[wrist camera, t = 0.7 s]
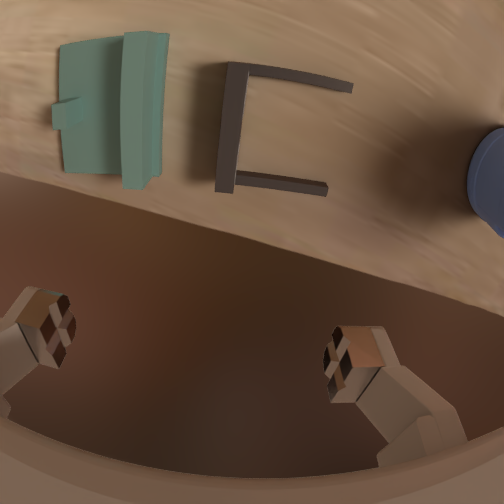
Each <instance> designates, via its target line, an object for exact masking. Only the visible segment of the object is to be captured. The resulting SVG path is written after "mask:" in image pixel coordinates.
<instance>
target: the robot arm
mask: <svg viewBox="0 0 504 504" xmlns="http://www.w3.org/2000/svg"><path fill="white" fill-rule="evenodd" d="M69 307H70V301H69V298H68V296H66V295H64V294H60V293H56V292H52V291H48V290H44V289H39V288H35V287H31V286H29V287H27V288H25V289H24V291H23V292H22V294H21V295H20V296H19V297H18V299H17V300H16V301H15V302H14V304H13V305H12V307H11V308H10V309H9V311H8V312H7V313H6V315H5V316H4V318H0V504H504V427H502V428H500V429H497V430H495V431H493V432H491V433H488V434H486V435H484V436H481V437H479V438H476V439H474V440H471V441H469V442H468V441H467V438H466V436H465V433H464V430H463V428H462V425H461V423H460V420H459V417H458V415H457V412H456V410H455V408H454V407H453V406H452V405H451V404H449V403H448V402H447V401H446V400H445V399H443V398H442V397H441V396H440V395H439V394H437V393H436V392H435V391H434V390H433V389H431V388H430V387H429V386H428V385H427V384H426V383H424V382H423V381H422V380H421V379H420V378H418V377H417V376H416V375H415V374H413V373H412V372H411V371H410V370H409V369H408V368H406V367H405V366H400V364H399V361H398V359H397V356H396V354H395V352H394V349H393V347H392V345H391V342H390V340H389V338H388V335H387V333H386V331H385V329H384V328H383V327H381V326H368V327H365V326H337V327H336V328H335V329H334V331H333V333H332V338H333V341H332V342H330V343H329V344H328V345H327V346H326V349H325V351H324V357H323V368H324V373H325V374H326V375H327V376H328V377H329V378H330V381H329V382H328V384H327V388H328V392H329V398H330V402H331V403H349V402H356V405H357V406H358V407H359V408H360V409H361V410H362V412H363V413H364V414H365V415H366V416H367V418H368V419H369V420H370V421H371V422H372V424H373V425H374V426H375V427H376V428H377V429H378V431H379V432H380V433H381V434H382V435H383V437H384V438H385V439H386V440H387V441H388V443H389V445H387V446H386V447H385V448H384V449H382V450H381V451H380V452H379V453H378V454H377V460H378V464H379V468H374V469H368V470H362V471H356V472H349V473H342V474H334V475H325V476H314V477H301V478H276V479H275V478H274V479H253V478H250V479H249V478H229V477H215V476H203V475H193V474H186V473H179V472H172V471H166V470H160V469H155V468H150V467H144V466H140V465H135V464H131V463H127V462H122V461H118V460H114V459H111V458H107V457H104V456H100V455H97V454H93V453H90V452H87V451H84V450H80V449H78V448H74V447H72V446H69V445H66V444H63V443H61V442H58V441H55V440H52V439H50V438H48V437H45V436H43V435H40V434H38V433H36V432H33V431H31V430H29V429H27V428H24V427H22V426H20V425H18V424H16V423H14V422H12V421H10V420H8V419H7V417H8V414H9V411H10V409H11V408H10V405H9V403H8V402H7V401H6V400H5V399H4V397H3V396H2V395H3V394H4V393H5V392H7V391H8V390H9V389H10V388H11V387H12V386H14V385H15V384H16V383H17V382H18V381H20V380H21V379H22V378H23V377H24V376H25V375H27V374H28V373H29V372H30V371H31V370H33V369H34V368H35V367H36V366H37V365H38V363H39V364H43V365H46V366H50V367H54V368H57V369H59V368H60V366H61V364H62V362H63V360H64V357H65V356H66V349H65V347H66V346H68V345H69V344H70V343H72V341H73V339H74V337H75V332H76V320H75V317H74V315H73V313H72V312H70V310H69V309H68V308H69Z"/></svg>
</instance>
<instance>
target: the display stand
mask: <svg viewBox="0 0 504 504" xmlns="http://www.w3.org/2000/svg"><path fill="white" fill-rule="evenodd" d="M168 43H169V34H168V33H155V32H150V31H139V32H127V33H124V36H116V37H107V38H100V39H93V40H87V41H81V42H75V43H70V44H65V45H60V59H59V102H57V103H54V104H52V105H51V107H52V125H53V130H60V129H61V140H62V151H63V160H64V168H65V173H95V174H121V175H122V183H123V189H137V190H143V189H144V188H145V186H146V185H147V183H148V182H149V181H150V179H151V178H152V176H156V177H159V176H160V175H161V173H162V127H163V105H164V88H165V75H166V63H167V53H168Z"/></svg>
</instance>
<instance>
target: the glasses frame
mask: <svg viewBox="0 0 504 504" xmlns="http://www.w3.org/2000/svg"><path fill="white" fill-rule="evenodd" d="M249 74H250V75H258V76H265V77H272V78H279V79H285V80H291V81H296V82H302V83H307V84H312V85H317V86H321V87H326V88H330V89H334V90H339V91H343V92H347V93H351V94H352V89H353V83H350V82H346V81H342V80H338V79H334V78H330V77H326V76H321V75H317V74H312V73H307V72H302V71H297V70H291V69H285V68H279V67H273V66H266V65H259V64H250V63H241V62H228V68H227V75H226V83H225V91H224V100H223V109H222V119H221V128H220V138H219V147H218V157H217V168H216V179H215V192H221V193H231V194H233V190H234V184H235V185H244V186H253V187H261V188H269V189H276V190H284V191H291V192H298V193H305V194H312V195H318V196H324V197H326V196H327V192H328V186H327V184H326V183H324V182H318V181H312V180H306V179H299V178H293V177H286V176H279V175H271V174H264V173H256V172H248V171H239V170H236V169H237V161H238V153H239V145H240V137H241V135H240V134H241V126H242V118H243V114H244V106H245V99H246V92H247V85H248V77H249Z"/></svg>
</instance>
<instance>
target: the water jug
mask: <svg viewBox="0 0 504 504" xmlns="http://www.w3.org/2000/svg"><path fill="white" fill-rule="evenodd" d="M467 193H468V198H469V201H470V204H471V206H472V208H473V210H474V211H475V212H476V213H477V214H478V215H479V217H480V218H481V219H483V220H484V221H485V222H487V223H488V224H489V226H490V227H491V228H492V229H493V230H494V231H495V232H496V233H497V234H498V235H499V236H500V237H502V238H504V128H499V129H496V130H494V131H493V132H491V133H490V134H488V135H487V136H486V137H485V138H484V139H483V140H482V142H481V143H480V144H479V146H478V147H477V149H476V151H475V153H474V155H473V157H472V160H471V163H470V166H469V170H468V176H467Z"/></svg>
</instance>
